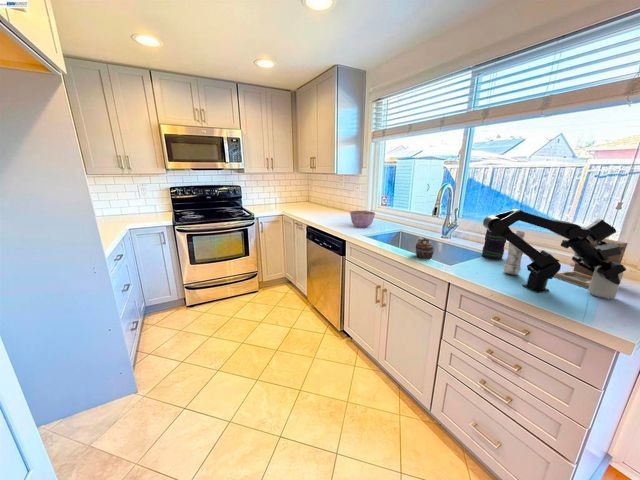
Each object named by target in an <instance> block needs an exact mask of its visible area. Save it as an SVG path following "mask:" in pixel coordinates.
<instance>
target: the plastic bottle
mask: <svg viewBox="0 0 640 480" xmlns="http://www.w3.org/2000/svg"><path fill="white" fill-rule="evenodd" d="M514 233H515V234H516V235H517V236H519V237H520V238H521V239H523V240H524V241H525V242H526V240H525V231H520V230H516V231H515V232H514ZM523 254H524V253H523V252H522V251H520V250H519V249H518V248H516V247H515V246H514V245H512V244H511V243H510V242H509V241H508V250H507V256H506V259H505V262H504V264H503V268H502V270H503V272H504V273H505V274H507V275H512V276H513V275H514V276H517V275H519V274H520V272H521V262H522V257H523Z"/></svg>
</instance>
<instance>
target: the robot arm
mask: <svg viewBox="0 0 640 480" xmlns="http://www.w3.org/2000/svg"><path fill="white" fill-rule="evenodd" d="M519 221H520V222H523V223H526V224H529V225H533V226H537V227H539V228H542V229H545V230H546V229H547V230H548V231H549V232H552V233H553V234H556V235H557V236H560V237H562V238H565V239H561V240H562V242H561V243H560V247H562V248H563V249H569V248H570V249H571V250H572V251H573V252H574V254H573V255H572V258H571V260H572V261H573V262H574V263H577V264H579V265H580V266H582V267H584V268H586V269H587V270H589V271H591V272H593V273H594V270H595V267H597V266H599V267H600V268H598V270H597V273H598V274H599V276H601V277H603V278H605V279H607V280H609V281H611V282H613V283H615V284H617V285H618V284H621V282H620V280H619V276H618V274H620V273H622V272H623V273H624V272H626V271H627V268H626V267H625V266H624V265H623V264H622V263H621V264H619V263H617V262H612V261H611V262H609V263H607V262H604V260H605V261H606V260H608V259H609V258H608V257H610V256H614V255H620V254H622V252H621V248H620V245H617V244H614V243H609V242H608V243H606V242H604V241H602V240H604V239H608V238H609V237H610V236H612V235H614V234H616V233H617V230H616V228H615V227H614V226H612V225H611V224H609V223H608V222H606V221H605V220H604V219H602V218H601V219H600V218H598V219H596V220H595V221H594V222H593V223H590V224H589V225H586V227H582V226H580V225H579V224H576V223H573V222H570V221H565V220H557V219H555V220H554V219H549V218H545V217H542V216H539V215H537V214H532V213H529V212H526V211H523V210H522V209H518V208H512V209H511V210H509V211H506V212H504V211H503V212H502V213H498V214H495V215H488V216H486V217H485V218H484V219H483V222H482V225H483V227H484V228H485V229H486V230H487V229H488V230H490V231H491V232H493V233H495V234H497V235H499V236H501V237H503V238H505V239H506V242H507V241H508V243H509V242H510V243H511V244H512V245H514V246H515V247H516V248H518V249H519V250H520V251H522V252H523V254H524V255H526V256H527V257H528V258H529V260H530V262H531V263H528V265H527V266H526V269H527V271H529V274H528V278H527V283H525V284H522V287H523V288H525V289H529V290H531V291H533V292H535V293H546V292H550V289H549V288H547V285H548V281H549V280H552V279H553V278H555V277H554V275H555V274H556V273H558V272H560V270H561V266H562V265H561V263H560V259H558V258H556V257H554V256H553V255H552V254H551V253H549V252H547V251H545V250H544V249H542V250H541V251H538V250H537V248H535V247H533V246H532V245H531V244H530V243H528V242H526V240H525V239H524V240H525V241H524V240H523V239H521V238H520V237H519V236H517V235H516V234H515V232H514V231H512V229H511V228H510V226H512V225H513V224H515V223H517V222H519ZM587 238H588V239H589V240H591V241H593V242H594V241H597V244H596V247H594V246H593V244H592V243H591V242H590V241H589V240H588V239H587Z"/></svg>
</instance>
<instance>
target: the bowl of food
mask: <svg viewBox="0 0 640 480" xmlns="http://www.w3.org/2000/svg"><path fill="white" fill-rule="evenodd" d="M349 214H350V220H351V223H352V224H353V225H354V226H355V227H357V228H360V229H363V228H365V229H366V228H368V227H369V226H371V225H372V224H373V223H374V219H375V215H376V212H374V211H369V210H351V211H349Z"/></svg>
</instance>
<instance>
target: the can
mask: <svg viewBox="0 0 640 480" xmlns="http://www.w3.org/2000/svg"><path fill="white" fill-rule="evenodd" d="M598 268H600V267H599V266H597V267H595V270H594V273H593V276H592V279H591V282H590V285H589V288H587V291H588V292H589V294H590V295H593V296H594V297H598V298H602V299H608V300H610V299H613V298H614V299H615V298H616V295H617V292H618V290H619V288H620V287H619V286H620V284H621V282H622V279H623V276H624V272H622V273H620V274H618V276H619V280H620V284H618V285H617V284H615V283H613V282H611V281H609V280H607V279H605V278H603V277H601V276H599V274H598V273H597V270H598Z"/></svg>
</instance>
